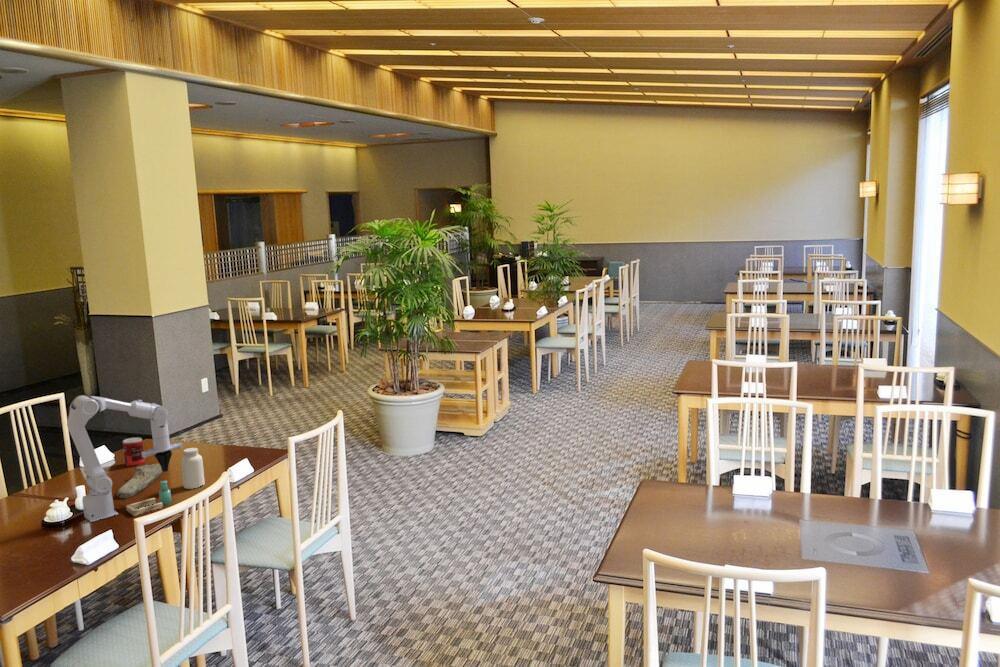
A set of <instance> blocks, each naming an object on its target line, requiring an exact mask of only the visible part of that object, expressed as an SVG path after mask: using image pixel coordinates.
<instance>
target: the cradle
mask: <svg viewBox="0 0 1000 667" xmlns="http://www.w3.org/2000/svg"><path fill="white" fill-rule="evenodd" d="M152 504H153V505H152ZM148 505H149V506H148ZM145 506H146V507H145ZM162 507H163V508H164V506H163V503H162V502H160V501H159V502H158V503H157V499H156V498H155V497H152V498H148V499H144V500H142V501H137V502H134V503H130V504H127V505H125V511H126V512H127V513H129V514H130V513H131V514H130V515H132V516H133V517H137V515H138V516H140V515H139V514H141V515H144V514H143V513H144V512H148V513H150V512H149V511H150V510H155V511H157V510H156V509H159V508H160V509H159V510H161V509H163V508H162ZM138 508H139V509H138Z"/></svg>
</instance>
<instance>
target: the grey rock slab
mask: <svg viewBox="0 0 1000 667" xmlns="http://www.w3.org/2000/svg"><path fill="white" fill-rule="evenodd" d="M161 474H163V471H162V468H161V466H160V464H159V463H153V464H142V465H139V466H135V469H134V473H133V476H132V477H131V478H130V479H129V480H127V481H126V482H125V484H123V485H122V486H121V487H119V489H117V493H116V497H118V498H119V499H122V498H126V499H130V498H133V497H134V496H135V495H137V494H139V493H140V492H142V490H145V489H146V488H147V487H148V486H149V485H150V484H151V485H152V484H153V482H154V481H155V480H156V479H158V478H159V476H160V475H161ZM132 496H133V497H132ZM129 497H130V498H129Z"/></svg>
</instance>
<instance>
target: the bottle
mask: <svg viewBox="0 0 1000 667" xmlns="http://www.w3.org/2000/svg"><path fill="white" fill-rule="evenodd" d="M159 485H160V490H159V491H158V496H159V503H160V502H162V503H163V507H165V506H169V505H171V504H172V503H173V500H172V493H171V488H168V480H160V481H159Z"/></svg>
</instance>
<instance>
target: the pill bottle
mask: <svg viewBox="0 0 1000 667" xmlns="http://www.w3.org/2000/svg"><path fill="white" fill-rule="evenodd" d="M182 452H183V456H182V457H181V460H180V466H181V474H182V476H181V477H182V483H183V484H182V485H183V488H184V489H186V490H192V489H193V490H194V488H195V489H198V487H199V488H201V487H200V486H202V485H203V486H205V484H206V483H205V472H204V463H203V462H204V461H203V457H202V455H200V454H199V448H197V447H190V448H189V447H188V448H185V449H184V450H182ZM203 486H202V487H203Z"/></svg>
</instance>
